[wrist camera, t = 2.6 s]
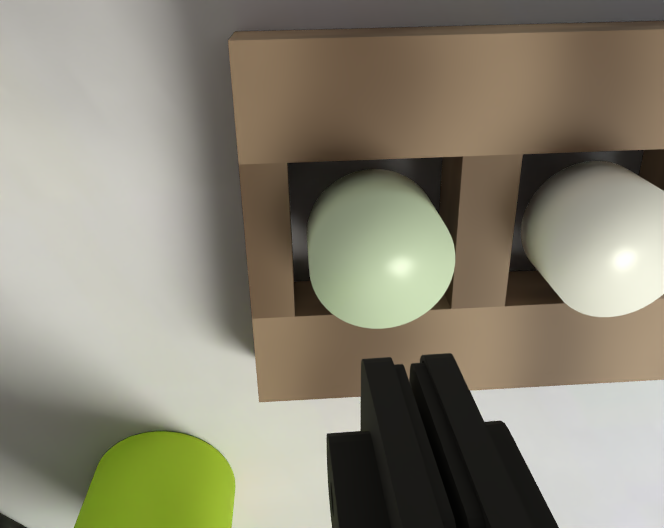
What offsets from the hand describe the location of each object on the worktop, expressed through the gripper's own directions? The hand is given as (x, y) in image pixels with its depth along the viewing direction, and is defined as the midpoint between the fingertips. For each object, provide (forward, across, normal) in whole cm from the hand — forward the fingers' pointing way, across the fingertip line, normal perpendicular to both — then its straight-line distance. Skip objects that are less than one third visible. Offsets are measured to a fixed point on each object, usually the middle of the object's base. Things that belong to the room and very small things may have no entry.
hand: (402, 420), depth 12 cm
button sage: (+9, -1, 0) cm, 9 cm away
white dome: (+9, -8, 0) cm, 12 cm away
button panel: (+11, -8, 0) cm, 13 cm away
